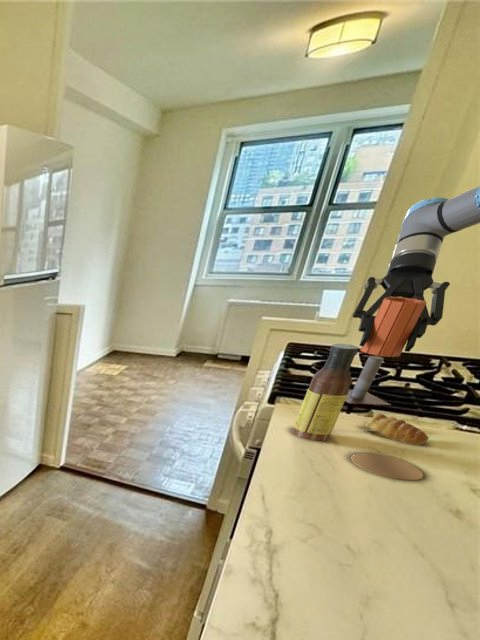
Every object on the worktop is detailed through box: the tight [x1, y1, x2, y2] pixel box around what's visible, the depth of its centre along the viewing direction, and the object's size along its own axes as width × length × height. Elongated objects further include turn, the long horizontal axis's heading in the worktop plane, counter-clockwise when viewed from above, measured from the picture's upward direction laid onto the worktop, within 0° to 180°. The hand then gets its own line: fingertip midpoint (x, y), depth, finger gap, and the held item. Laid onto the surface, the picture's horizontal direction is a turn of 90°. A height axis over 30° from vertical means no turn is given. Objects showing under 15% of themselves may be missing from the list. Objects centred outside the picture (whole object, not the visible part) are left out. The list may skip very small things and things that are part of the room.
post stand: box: [345, 355, 392, 406], centre depth 117 cm, size 9×9×12 cm
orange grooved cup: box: [359, 297, 427, 358], centre depth 110 cm, size 7×7×12 cm
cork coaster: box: [350, 452, 424, 481], centre depth 92 cm, size 10×10×1 cm
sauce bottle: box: [293, 343, 360, 442], centre depth 100 cm, size 6×6×20 cm
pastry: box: [365, 413, 430, 446], centre depth 102 cm, size 9×7×4 cm
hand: (386, 345), depth 110 cm, fingers closed on orange grooved cup, 7 cm apart
